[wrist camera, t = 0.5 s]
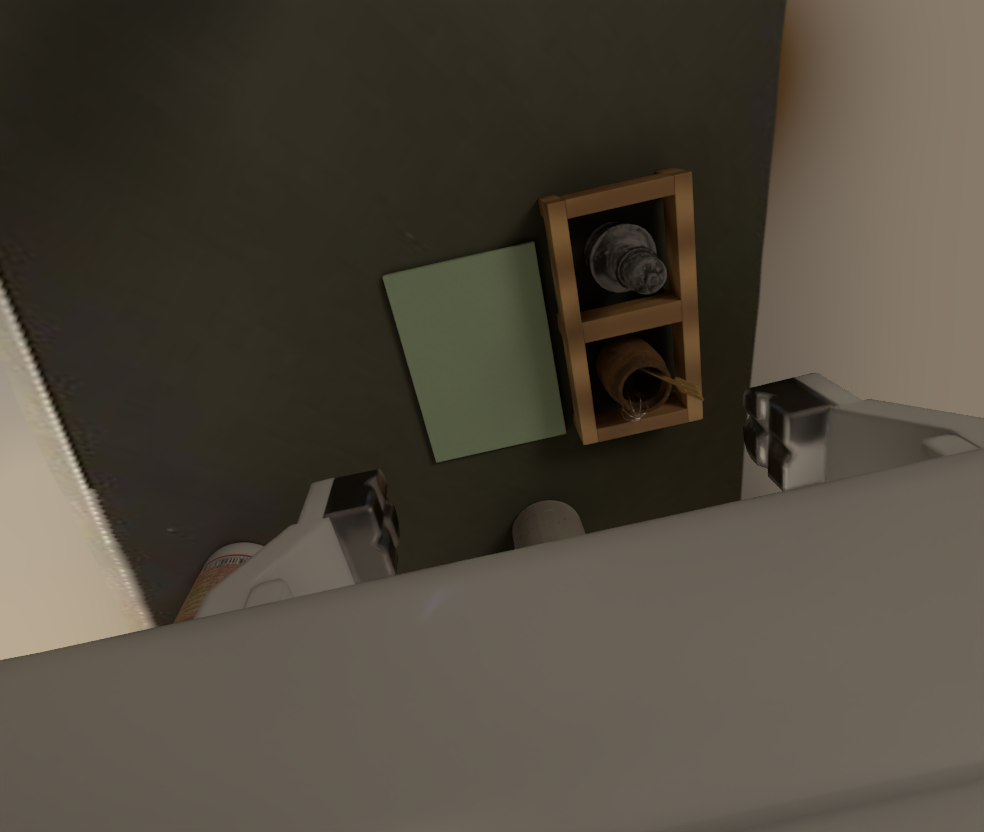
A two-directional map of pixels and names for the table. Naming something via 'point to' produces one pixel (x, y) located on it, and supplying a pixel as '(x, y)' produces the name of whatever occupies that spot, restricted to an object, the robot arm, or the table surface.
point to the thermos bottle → (545, 524)
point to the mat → (479, 350)
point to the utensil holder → (637, 375)
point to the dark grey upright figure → (624, 259)
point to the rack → (632, 315)
